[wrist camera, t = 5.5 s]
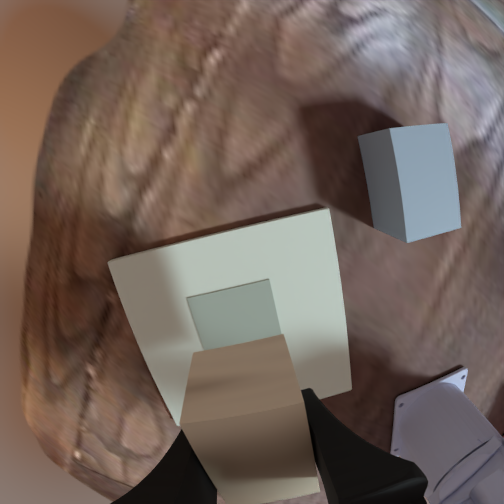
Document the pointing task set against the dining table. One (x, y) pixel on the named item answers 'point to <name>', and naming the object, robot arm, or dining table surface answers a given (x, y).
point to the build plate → (240, 300)
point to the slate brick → (411, 181)
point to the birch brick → (250, 422)
